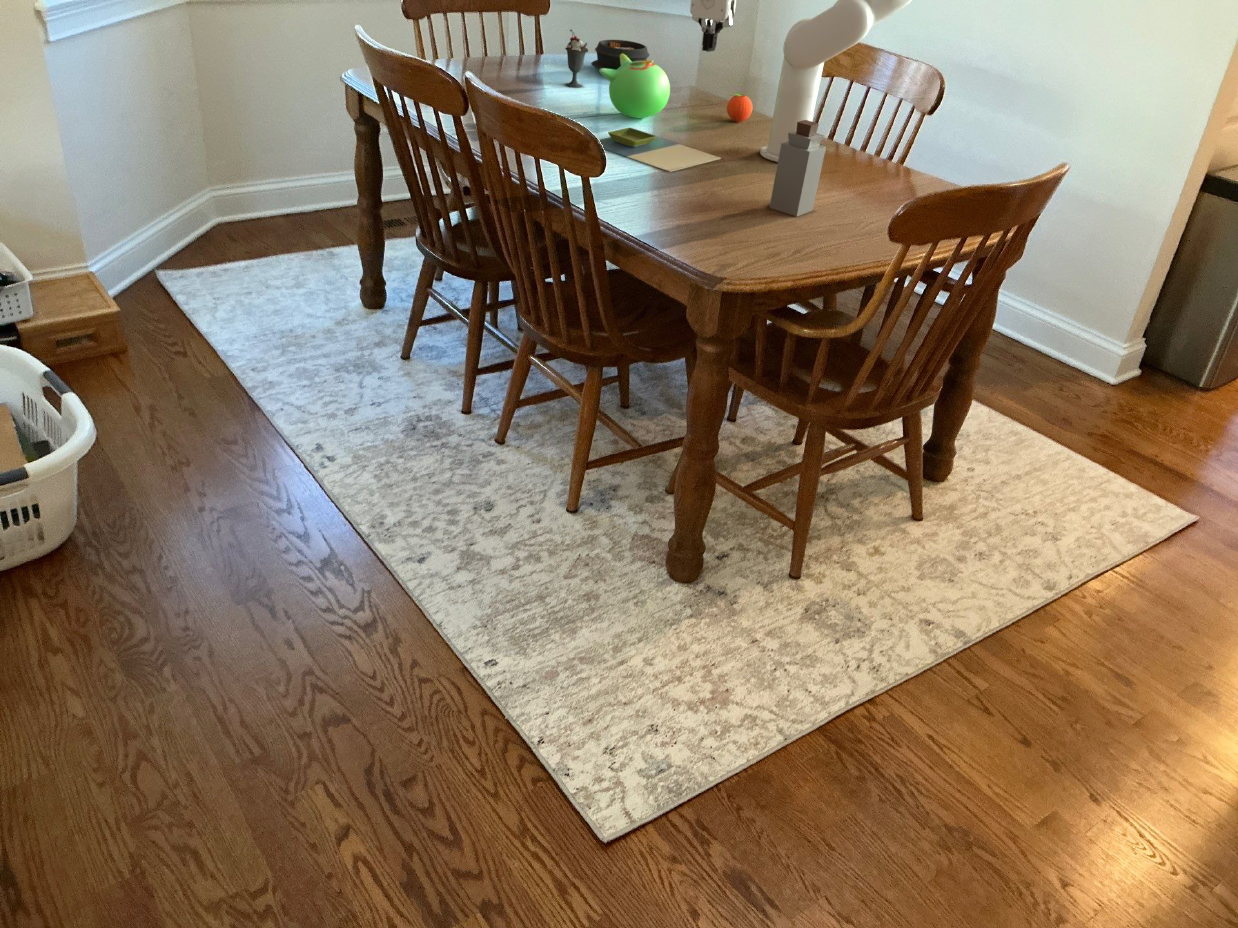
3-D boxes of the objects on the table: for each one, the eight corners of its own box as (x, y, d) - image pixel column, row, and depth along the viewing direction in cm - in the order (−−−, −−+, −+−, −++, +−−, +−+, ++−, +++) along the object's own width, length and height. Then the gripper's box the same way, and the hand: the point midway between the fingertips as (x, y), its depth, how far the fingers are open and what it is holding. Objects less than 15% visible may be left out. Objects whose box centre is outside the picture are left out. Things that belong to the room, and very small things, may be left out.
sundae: (558, 83, 287) (562, 27, 279) (579, 82, 290) (583, 28, 281) (567, 88, 282) (571, 32, 274) (588, 88, 285) (593, 33, 276)
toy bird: (654, 129, 254) (661, 69, 246) (593, 117, 257) (598, 58, 249) (674, 115, 268) (681, 58, 260) (616, 104, 272) (621, 48, 264)
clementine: (718, 121, 267) (722, 94, 264) (724, 115, 273) (728, 89, 269) (747, 126, 266) (751, 99, 262) (752, 120, 271) (756, 94, 267)
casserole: (586, 62, 315) (589, 34, 310) (644, 66, 318) (646, 39, 313) (594, 80, 294) (597, 50, 290) (655, 84, 297) (658, 55, 293)
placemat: (721, 158, 237) (721, 158, 236) (669, 172, 223) (669, 171, 223) (639, 132, 250) (639, 131, 250) (586, 143, 237) (586, 142, 236)
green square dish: (656, 144, 241) (657, 136, 240) (634, 150, 235) (635, 141, 234) (628, 136, 245) (629, 127, 244) (606, 141, 239) (607, 132, 238)
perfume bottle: (785, 201, 213) (802, 116, 203) (812, 210, 210) (830, 124, 200) (769, 207, 209) (785, 121, 199) (796, 216, 205) (814, 129, 196)
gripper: (682, -39, 225) (674, 46, 235) (737, -30, 218) (725, 58, 228) (701, -40, 231) (691, 43, 241) (754, -31, 223) (743, 55, 233)
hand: (708, 50), depth 234 cm, fingers closed
